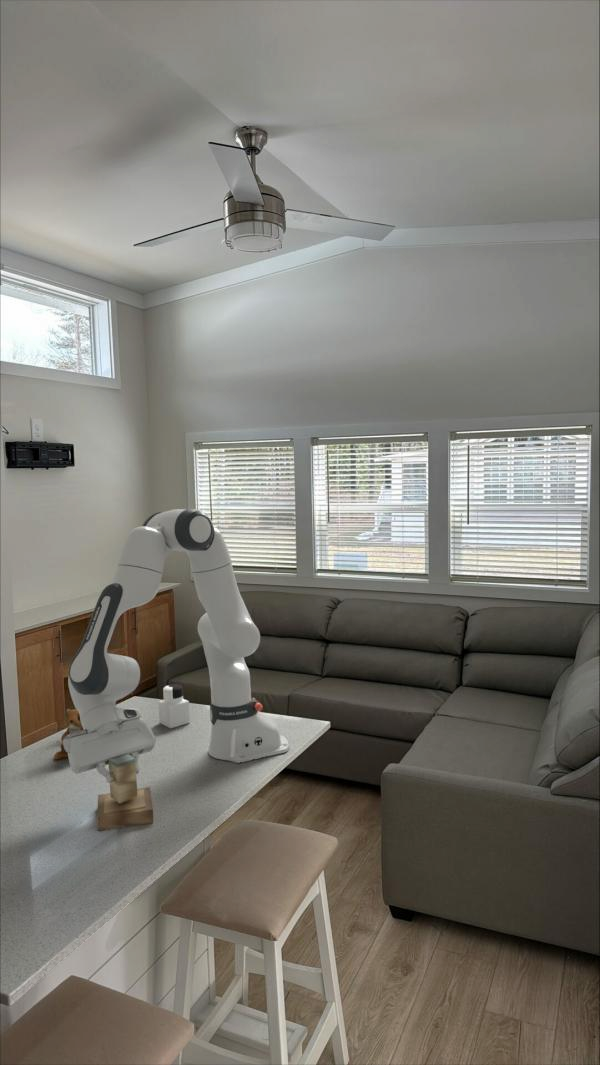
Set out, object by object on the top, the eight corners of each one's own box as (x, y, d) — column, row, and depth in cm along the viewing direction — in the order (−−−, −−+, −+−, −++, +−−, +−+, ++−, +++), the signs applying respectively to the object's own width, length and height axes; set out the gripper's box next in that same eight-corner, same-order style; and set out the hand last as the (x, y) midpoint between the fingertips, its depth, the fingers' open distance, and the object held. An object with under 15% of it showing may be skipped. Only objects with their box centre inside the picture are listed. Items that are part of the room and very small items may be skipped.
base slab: (150, 799, 170) (149, 786, 170) (153, 822, 158) (152, 808, 158) (99, 807, 167) (98, 793, 167) (97, 831, 155) (96, 816, 155)
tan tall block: (128, 790, 166) (126, 753, 165) (137, 797, 162) (135, 758, 161) (110, 797, 163) (107, 758, 162) (119, 803, 159) (116, 764, 158)
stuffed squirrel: (51, 761, 196) (48, 715, 195) (76, 742, 210) (73, 699, 209) (84, 762, 194) (81, 715, 193) (107, 743, 208) (104, 699, 207)
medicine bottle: (179, 717, 228) (177, 681, 227) (190, 723, 222) (188, 685, 221) (159, 723, 223) (157, 686, 222) (170, 728, 218) (168, 690, 217)
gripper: (63, 729, 160) (83, 784, 153) (145, 707, 173) (167, 757, 166) (57, 743, 164) (76, 798, 157) (138, 721, 177) (159, 770, 170)
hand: (124, 777), depth 161 cm, fingers closed on tan tall block, 4 cm apart
